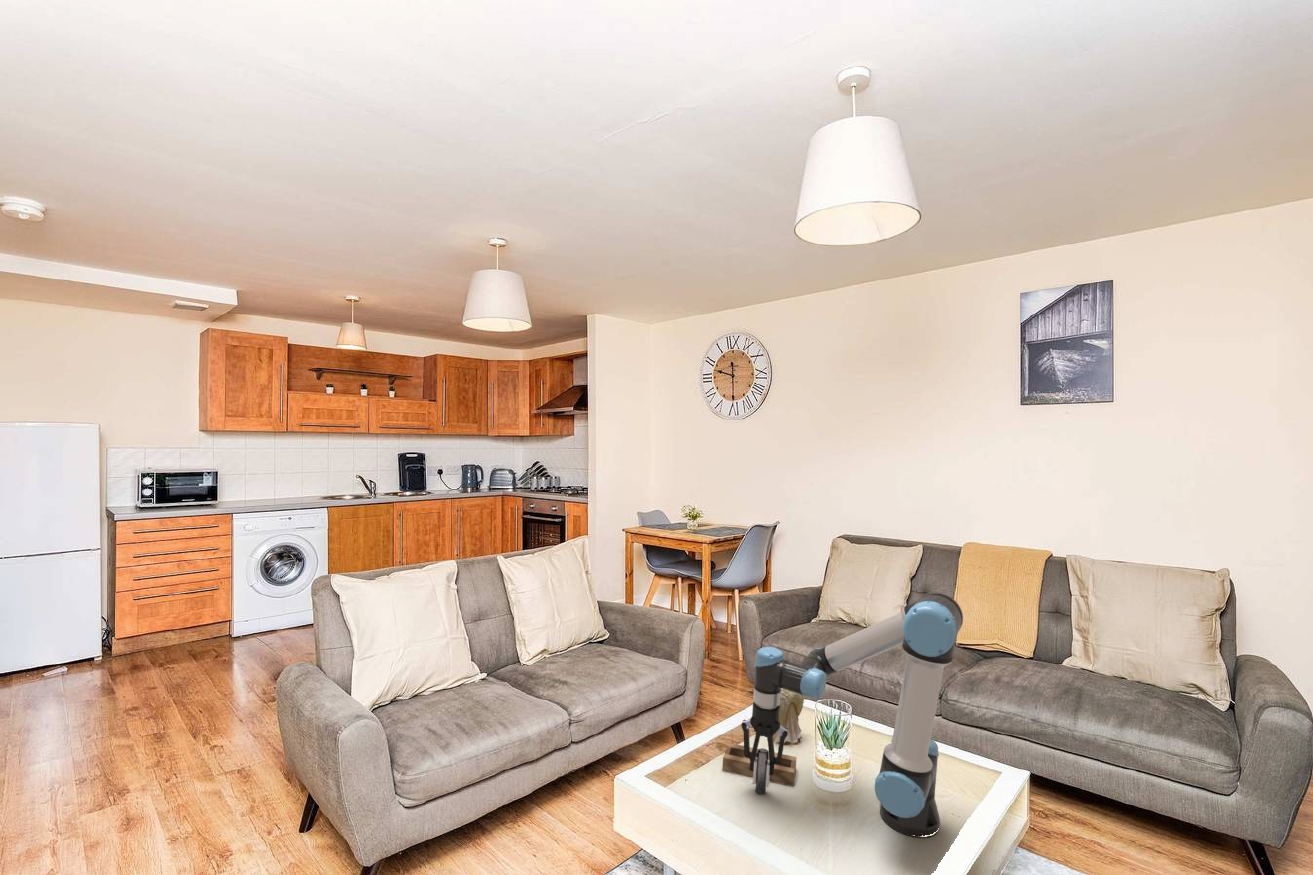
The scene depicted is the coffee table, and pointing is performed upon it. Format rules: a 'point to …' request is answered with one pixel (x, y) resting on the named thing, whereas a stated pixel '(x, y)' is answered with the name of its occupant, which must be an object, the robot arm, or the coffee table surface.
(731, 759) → the hole block
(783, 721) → the figurine
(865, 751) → the coffee table surface
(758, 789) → the peg
